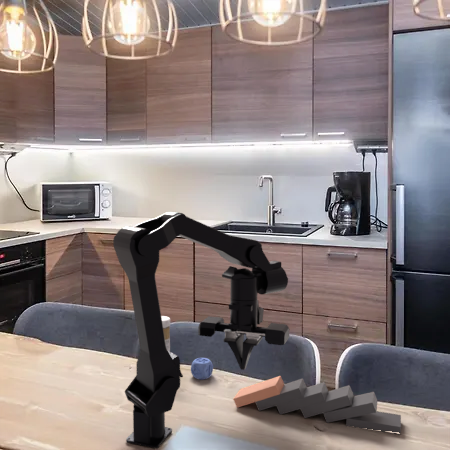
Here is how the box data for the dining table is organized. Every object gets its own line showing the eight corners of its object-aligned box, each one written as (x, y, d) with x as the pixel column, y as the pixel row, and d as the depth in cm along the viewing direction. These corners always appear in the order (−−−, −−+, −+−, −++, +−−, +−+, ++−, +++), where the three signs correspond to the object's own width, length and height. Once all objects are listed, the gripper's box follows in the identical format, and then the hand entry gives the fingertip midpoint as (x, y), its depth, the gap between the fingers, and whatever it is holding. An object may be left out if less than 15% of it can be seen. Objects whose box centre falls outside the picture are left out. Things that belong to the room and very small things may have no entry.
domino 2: (264, 400, 104) (306, 387, 101) (259, 410, 99) (302, 397, 96) (261, 391, 104) (302, 378, 101) (255, 401, 99) (298, 388, 96)
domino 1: (243, 397, 106) (284, 384, 102) (237, 407, 101) (279, 394, 98) (240, 389, 106) (280, 375, 102) (233, 398, 101) (275, 385, 98)
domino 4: (308, 407, 101) (353, 394, 98) (304, 418, 96) (351, 404, 93) (304, 398, 101) (349, 385, 98) (300, 408, 96) (347, 395, 93)
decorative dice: (204, 381, 114) (204, 364, 114) (190, 377, 116) (190, 361, 116) (213, 375, 118) (213, 359, 117) (199, 371, 120) (199, 356, 119)
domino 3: (284, 403, 103) (328, 390, 99) (280, 414, 98) (325, 401, 95) (281, 395, 103) (324, 381, 100) (276, 405, 98) (321, 392, 95)
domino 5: (330, 411, 99) (377, 401, 96) (326, 422, 95) (376, 412, 91) (326, 402, 100) (373, 391, 96) (323, 413, 95) (372, 402, 91)
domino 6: (348, 416, 98) (400, 424, 95) (346, 427, 94) (400, 437, 90) (348, 406, 98) (400, 414, 95) (346, 418, 94) (400, 427, 90)
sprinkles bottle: (152, 366, 122) (152, 315, 121) (170, 366, 123) (170, 315, 122) (151, 374, 118) (151, 320, 117) (170, 373, 118) (170, 320, 117)
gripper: (295, 292, 105) (293, 361, 107) (215, 286, 111) (215, 351, 113) (284, 305, 95) (283, 381, 96) (197, 297, 101) (197, 368, 102)
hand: (243, 369), depth 102 cm, fingers closed
